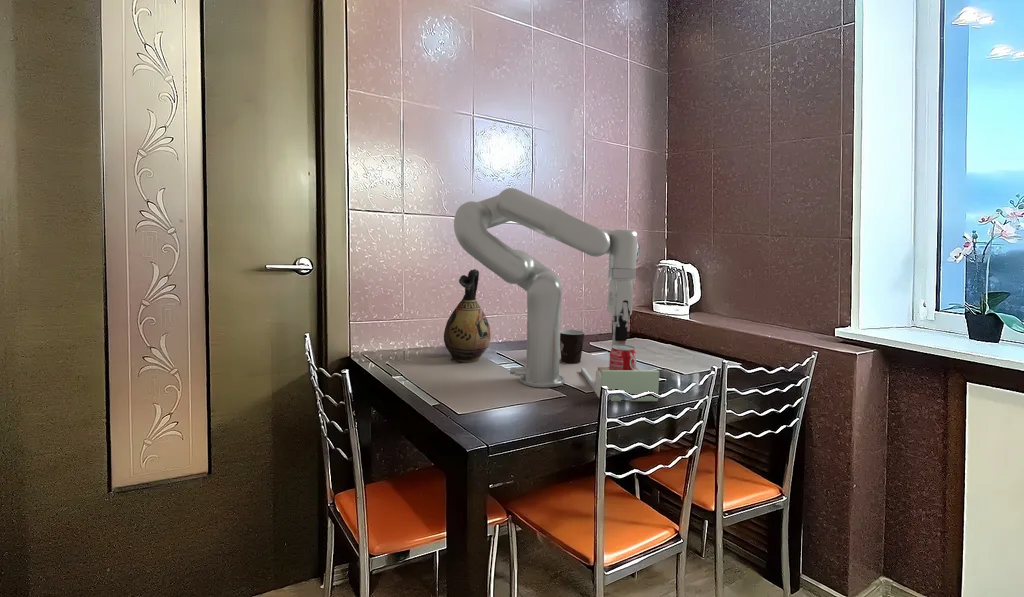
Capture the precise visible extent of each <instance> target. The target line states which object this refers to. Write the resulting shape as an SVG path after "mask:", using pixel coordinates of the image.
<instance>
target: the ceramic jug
mask: <svg viewBox="0 0 1024 597" xmlns="http://www.w3.org/2000/svg"><path fill="white" fill-rule="evenodd" d="M479 279H480V271H479V270H478V269H470V270H469V271H468V273H467V275H465V274H463V275H461V276H460V277H459V280H458V283H459V284H460V286H462V287H463V288H464V295H463V297H462V299H461V300H460V301H459V303H458V304H457V305H456V307H455V308H454V310H453V311H452V312H451V314H450V316H449V317H448V319H447V321H446V324H445V328H444V331H443V342H444V346H445V348H446V350H447V351H448V353H449V354H450V356H451V361H453V362H455V363H459V364H460V363H475V362H476V363H477V362H478V361H479V360H480V358H481V357H482V356H483V354H484V353H485V352H486V351H487V349H488V348H489V345H490V343H491V336H492V334H491V327H490V326H491V325H490V323H489V320H488V318H487V317H486V314H485V313H484V311H483V308H482V307H481V306H480V304H479V302H478V301H477V291H478V285H479Z"/></svg>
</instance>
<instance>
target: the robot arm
mask: <svg viewBox="0 0 1024 597" xmlns="http://www.w3.org/2000/svg"><path fill="white" fill-rule="evenodd" d="M453 218H454V219H453V231H454V234H455V237H456V240H457V242H458V244H459V245H460V247H461V248H462V249H463V250H464V251H465V252H466V253H467V254H468V255H469V256H470V257H472V258H473V259H475V260H476V261H478V262H479V263H480V264H481V265H483V266H484V267H486V268H487V269H488V270H490V271H491V272H493V273H494V274H496V275H497V276H498V277H500V279H502V280H503V281H504V282H506V283H508V284H510V285H517V286H518V287H520V288H521V289H522V290H525V291H526V307H527V312H526V313H527V314H526V315H527V316H526V318H527V319H526V356H525V357H526V363H525V364H524V366H520V367H509V368H510V370H509V372H510V373H509V374H510V375H514V376H518V377H520V382H521V383H522V384H524V385H526V386H529V387H533V388H544V389H545V388H556V387H560V386H562V385H563V384H564V383H565V378H564V377H563V376H562V375H560V357H561V352H560V330H561V323H562V322H561V321H562V320H561V318H562V317H561V316H562V299H563V298H562V297H563V296H562V295H563V294H562V292H563V282H562V280H561V277H560V276H559V275H558V274H557V273H556V272H555V271H553V270H552V269H550V268H549V267H548V266H546V265H545V264H543V263H541V262H540V261H539V260H537V259H536V258H534V256H531V255H530V254H529V253H528V252H525V251H523V250H521V249H514V248H512V247H511V246H509V245H507V244H506V243H504V242H503V241H502V240H500V238H498V237H497V236H494V235H493V234H492V233H490V232H489V231H488V229H491V228H494V227H497V226H499V225H503V224H506V223H508V222H514V223H516V224H519V225H521V226H523V227H524V228H528V229H529V230H532V231H534V232H536V233H538V234H540V235H542V236H545V237H546V238H550V239H552V240H555V241H557V242H561V243H562V244H564V245H566V246H569V247H571V248H573V249H575V250H578V251H580V252H582V253H584V254H586V255H589V256H591V257H593V258H595V257H603V255H608V271H607V274H608V275H607V280H609V284H608V292H607V293H608V294H607V304H606V311H607V312H608V313H609V314H610V315H612V318H611V319H612V320H611V322H612V323H611V337H612V336H613V322H617V326H615V340H616V341H625V342H626V341H627V340H628V321H629V317H630V316H631V315H632V314H633V313H632V312H633V302H634V301H633V299H634V297H633V293H634V292H633V290H634V289H633V288H634V286H633V285H634V284H633V282H634V281H636V278H637V277H636V276H637V275H636V274H637V261H638V260H637V255H638V238H639V237H638V233H637V231H636V230H634V229H613V230H610V229H602V228H599V227H597V226H594V225H592V224H590V223H587V222H586V221H585V220H581V219H580V218H578V217H576V216H573V215H571V214H568V212H566V211H564V210H562V209H560V208H559V207H557V206H555V205H553V204H550V203H548V202H546V201H543V200H541V199H539V198H537V197H536V196H533V195H530V194H528V193H526V192H524V191H522V190H520V189H517V188H514V187H509V188H505V189H503V190H501V192H500V193H499V194H497V195H494V196H492V197H489V198H486V199H483V200H480V201H467V202H464V203H462V204H461V205H460V206H459V207H458V208H457V210H456V212H455V214H454V217H453Z"/></svg>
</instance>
